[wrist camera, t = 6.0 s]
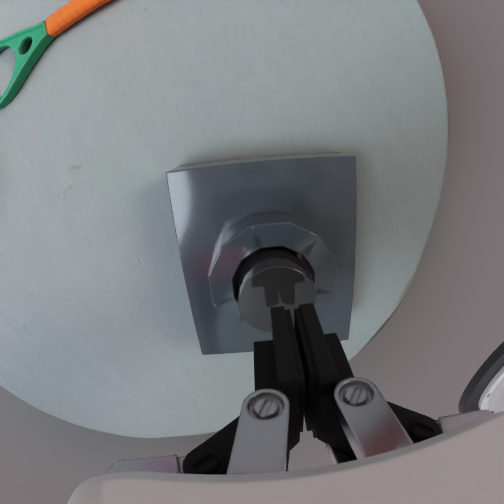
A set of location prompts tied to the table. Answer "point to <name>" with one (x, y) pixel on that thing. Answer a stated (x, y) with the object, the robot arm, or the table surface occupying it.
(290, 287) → the button cap
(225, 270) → the button housing
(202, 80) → the table surface
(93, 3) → the magnifying glass
